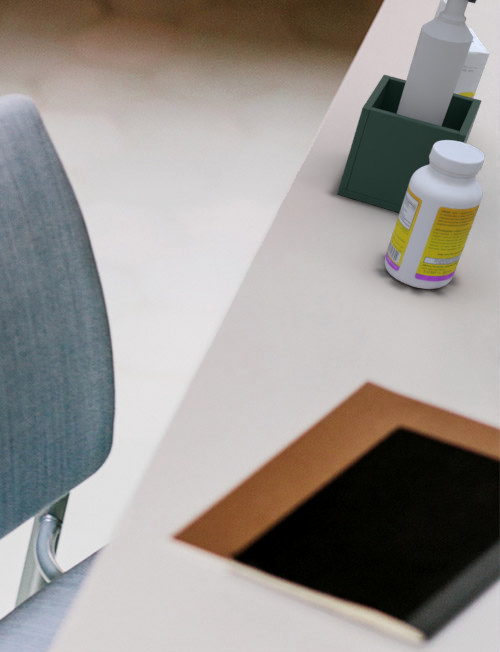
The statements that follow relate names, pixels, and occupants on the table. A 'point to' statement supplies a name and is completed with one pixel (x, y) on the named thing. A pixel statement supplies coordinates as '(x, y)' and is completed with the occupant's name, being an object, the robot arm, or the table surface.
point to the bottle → (436, 65)
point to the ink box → (469, 63)
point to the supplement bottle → (436, 216)
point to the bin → (397, 144)
